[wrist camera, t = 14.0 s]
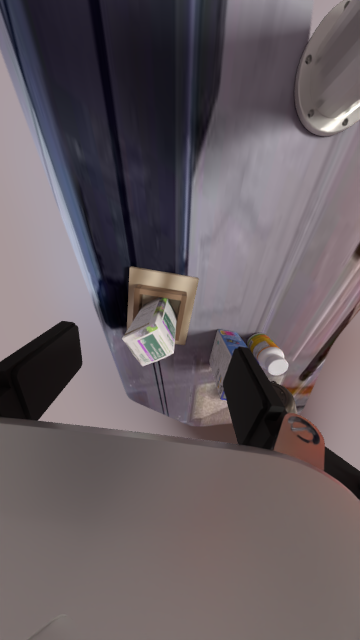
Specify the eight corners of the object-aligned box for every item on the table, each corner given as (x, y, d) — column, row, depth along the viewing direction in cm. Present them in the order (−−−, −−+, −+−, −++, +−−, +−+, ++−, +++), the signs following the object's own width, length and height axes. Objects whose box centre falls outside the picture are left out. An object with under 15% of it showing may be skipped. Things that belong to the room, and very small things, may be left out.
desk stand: (198, 277, 35) (200, 282, 31) (184, 341, 42) (185, 353, 37) (131, 266, 34) (124, 269, 30) (128, 333, 41) (121, 344, 36)
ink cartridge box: (228, 364, 45) (249, 413, 32) (208, 361, 44) (220, 411, 31) (239, 331, 41) (268, 373, 28) (217, 328, 40) (235, 369, 27)
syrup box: (177, 315, 37) (176, 353, 24) (155, 326, 38) (141, 368, 25) (165, 293, 35) (156, 321, 22) (141, 305, 36) (119, 339, 23)
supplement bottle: (271, 344, 42) (296, 370, 33) (252, 354, 43) (270, 382, 35) (263, 328, 40) (286, 351, 32) (242, 339, 42) (259, 365, 33)
